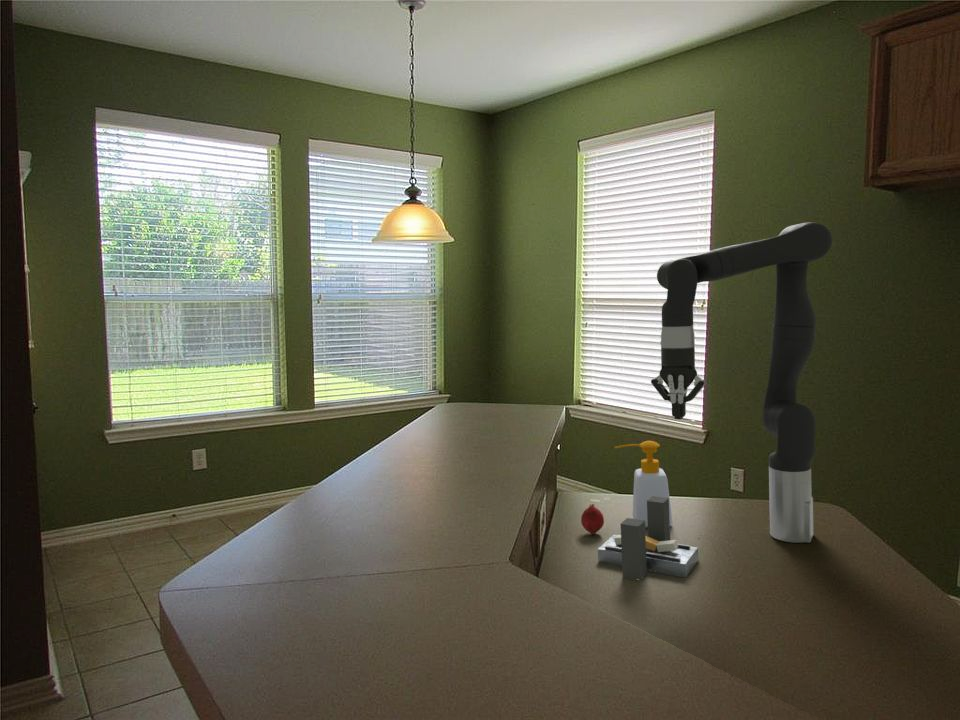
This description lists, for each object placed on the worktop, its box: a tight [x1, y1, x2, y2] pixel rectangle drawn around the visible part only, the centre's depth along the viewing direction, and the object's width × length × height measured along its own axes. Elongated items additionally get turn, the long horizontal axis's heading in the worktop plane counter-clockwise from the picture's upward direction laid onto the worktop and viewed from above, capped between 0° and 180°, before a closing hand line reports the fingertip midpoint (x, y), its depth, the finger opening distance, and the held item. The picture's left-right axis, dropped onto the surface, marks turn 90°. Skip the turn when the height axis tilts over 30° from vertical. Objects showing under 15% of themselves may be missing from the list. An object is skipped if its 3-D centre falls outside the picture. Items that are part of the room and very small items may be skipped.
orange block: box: [645, 535, 659, 551], centre depth 146 cm, size 4×2×2 cm, turn 57°
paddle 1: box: [614, 534, 621, 545], centre depth 150 cm, size 4×2×2 cm, turn 56°
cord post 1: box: [620, 517, 648, 581], centre depth 139 cm, size 4×4×12 cm
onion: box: [580, 503, 605, 535], centre depth 165 cm, size 6×6×8 cm
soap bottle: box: [614, 440, 673, 528], centre depth 170 cm, size 10×14×22 cm
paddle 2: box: [656, 539, 679, 552], centre depth 144 cm, size 4×2×2 cm, turn 56°
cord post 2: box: [647, 496, 671, 541], centre depth 153 cm, size 4×4×12 cm
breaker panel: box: [597, 533, 699, 578], centre depth 147 cm, size 20×10×4 cm, turn 57°
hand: (678, 418), depth 151 cm, fingers closed
